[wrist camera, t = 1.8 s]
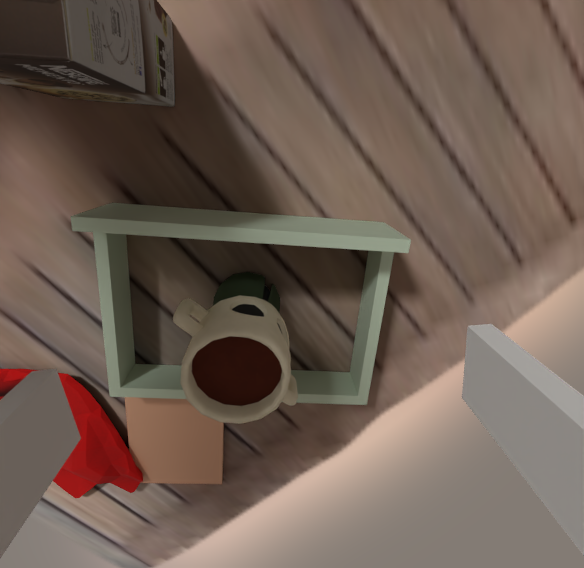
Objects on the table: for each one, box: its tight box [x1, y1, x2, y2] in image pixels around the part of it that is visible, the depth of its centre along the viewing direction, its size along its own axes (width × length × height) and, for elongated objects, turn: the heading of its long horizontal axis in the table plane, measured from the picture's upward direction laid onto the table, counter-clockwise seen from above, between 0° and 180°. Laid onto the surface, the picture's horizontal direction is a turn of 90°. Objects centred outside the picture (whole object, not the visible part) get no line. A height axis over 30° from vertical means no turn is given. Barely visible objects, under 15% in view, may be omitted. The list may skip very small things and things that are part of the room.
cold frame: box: [71, 203, 411, 405], centre depth 32 cm, size 24×17×7 cm
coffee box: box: [0, 0, 175, 107], centre depth 21 cm, size 9×6×16 cm
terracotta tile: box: [125, 397, 224, 484], centre depth 40 cm, size 10×12×1 cm
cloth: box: [0, 369, 143, 498], centre depth 37 cm, size 26×14×2 cm, turn 45°
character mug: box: [173, 272, 298, 424], centre depth 30 cm, size 11×7×13 cm, turn 48°
